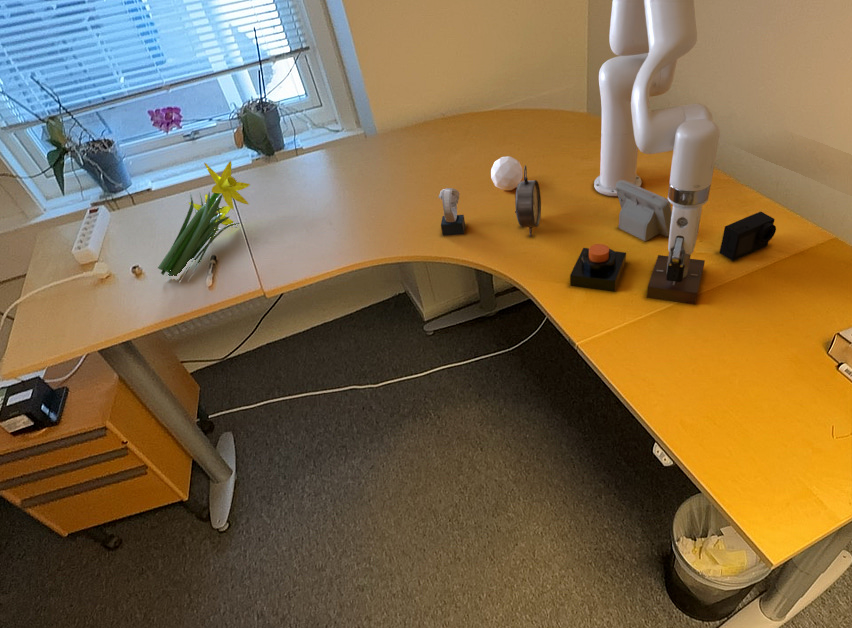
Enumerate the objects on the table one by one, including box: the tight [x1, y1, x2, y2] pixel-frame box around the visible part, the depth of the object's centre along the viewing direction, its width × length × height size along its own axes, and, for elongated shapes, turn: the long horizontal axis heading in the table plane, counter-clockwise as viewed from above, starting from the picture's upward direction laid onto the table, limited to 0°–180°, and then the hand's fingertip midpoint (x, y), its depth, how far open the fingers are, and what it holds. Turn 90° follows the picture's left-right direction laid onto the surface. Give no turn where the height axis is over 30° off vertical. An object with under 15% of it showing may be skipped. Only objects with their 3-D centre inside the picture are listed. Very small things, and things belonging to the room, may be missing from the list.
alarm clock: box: [514, 165, 542, 238], centre depth 141 cm, size 11×5×16 cm, turn 168°
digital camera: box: [719, 211, 777, 262], centre depth 128 cm, size 10×5×7 cm, turn 117°
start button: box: [588, 243, 610, 263], centre depth 126 cm, size 4×4×2 cm
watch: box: [438, 187, 466, 237], centre depth 145 cm, size 6×8×11 cm
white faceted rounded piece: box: [490, 155, 524, 191], centre depth 160 cm, size 9×9×12 cm
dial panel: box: [646, 254, 706, 305], centre depth 124 cm, size 12×10×3 cm
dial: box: [666, 247, 692, 278], centre depth 121 cm, size 4×4×6 cm
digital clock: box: [616, 180, 672, 242], centre depth 137 cm, size 16×9×11 cm, turn 26°
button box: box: [569, 247, 627, 293], centre depth 128 cm, size 11×10×5 cm
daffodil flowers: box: [157, 160, 251, 276], centre depth 151 cm, size 17×15×35 cm
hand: (677, 268), depth 122 cm, fingers open, 7 cm apart
